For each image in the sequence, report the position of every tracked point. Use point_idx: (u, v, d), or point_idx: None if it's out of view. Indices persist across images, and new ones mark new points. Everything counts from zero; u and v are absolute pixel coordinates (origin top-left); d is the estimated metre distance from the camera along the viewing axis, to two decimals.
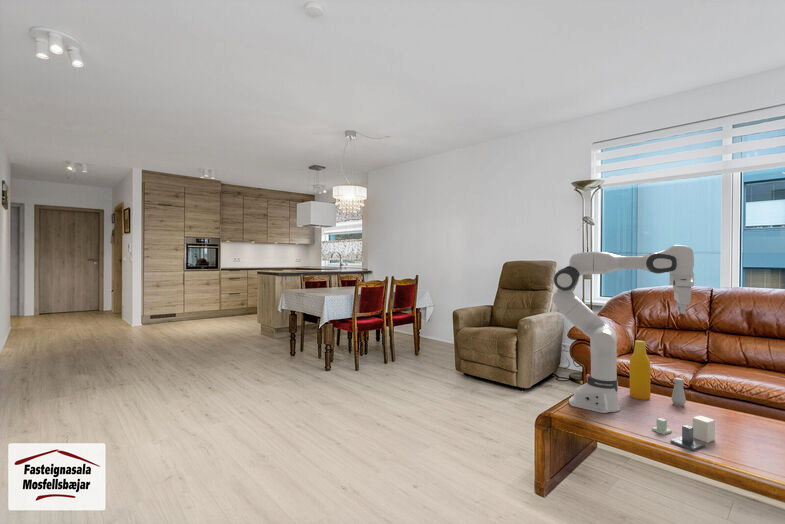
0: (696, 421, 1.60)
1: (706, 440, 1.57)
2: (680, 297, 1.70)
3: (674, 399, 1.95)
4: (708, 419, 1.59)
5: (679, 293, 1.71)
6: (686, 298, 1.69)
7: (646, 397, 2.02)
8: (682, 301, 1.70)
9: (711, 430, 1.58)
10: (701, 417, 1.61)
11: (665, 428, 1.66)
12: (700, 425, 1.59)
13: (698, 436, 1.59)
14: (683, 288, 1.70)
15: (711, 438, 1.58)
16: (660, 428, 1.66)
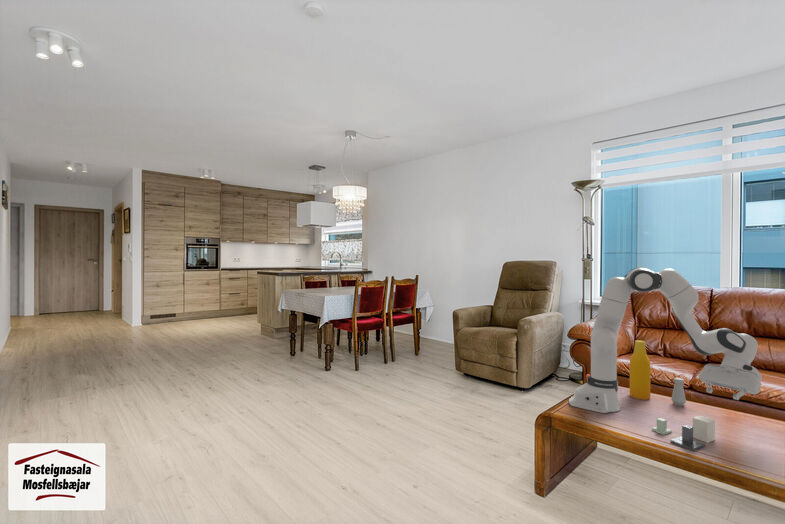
0: (696, 421, 1.60)
1: (706, 440, 1.57)
2: (756, 384, 1.57)
3: (674, 399, 1.95)
4: (708, 419, 1.59)
5: (756, 380, 1.58)
6: (758, 388, 1.58)
7: (646, 397, 2.02)
8: (756, 389, 1.57)
9: (711, 430, 1.58)
10: (701, 417, 1.61)
11: (665, 428, 1.66)
12: (700, 425, 1.59)
13: (698, 436, 1.59)
14: (757, 378, 1.60)
15: (711, 438, 1.58)
16: (660, 428, 1.66)
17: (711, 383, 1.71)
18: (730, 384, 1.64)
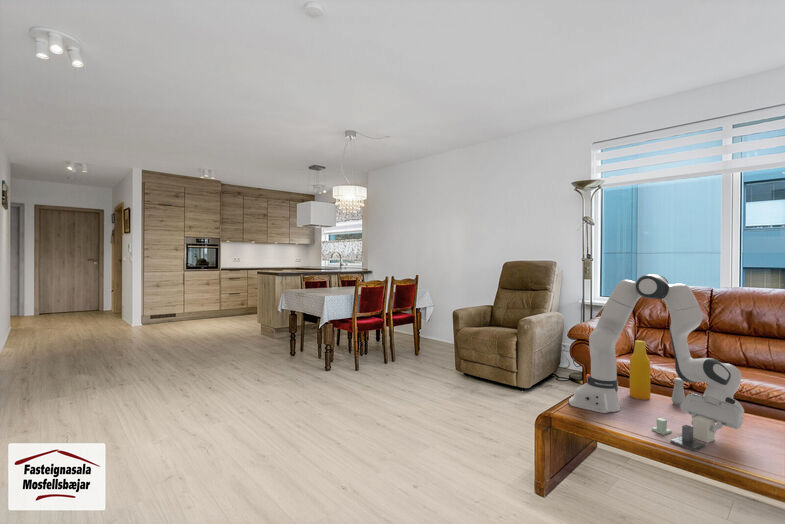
0: (696, 421, 1.60)
1: (706, 440, 1.57)
2: (738, 419, 1.52)
3: (674, 399, 1.95)
4: (708, 419, 1.59)
5: (739, 415, 1.53)
6: (740, 423, 1.53)
7: (646, 397, 2.02)
8: (738, 424, 1.52)
9: None
10: (701, 417, 1.61)
11: (665, 428, 1.66)
12: (700, 425, 1.59)
13: (698, 436, 1.59)
14: (740, 412, 1.55)
15: (711, 438, 1.58)
16: (660, 428, 1.66)
17: (696, 415, 1.64)
18: (712, 417, 1.59)
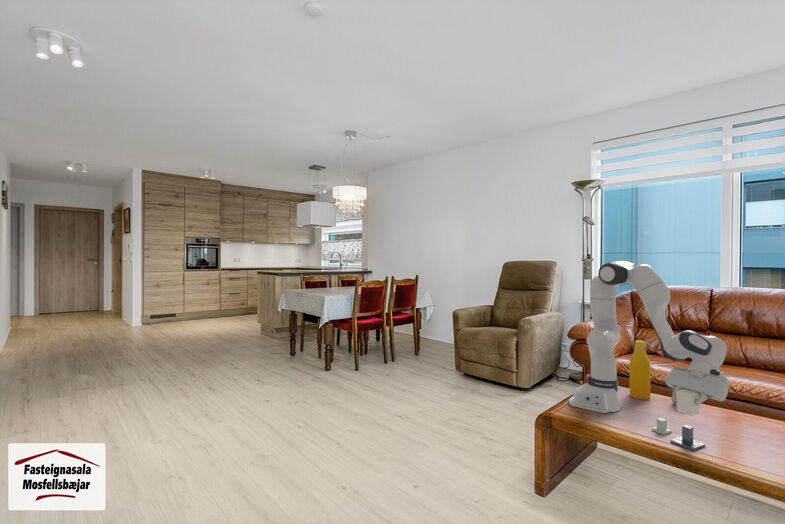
0: (680, 394, 1.55)
1: (690, 413, 1.52)
2: (723, 391, 1.47)
3: (674, 399, 1.95)
4: (692, 392, 1.54)
5: (723, 386, 1.48)
6: (725, 395, 1.48)
7: (646, 397, 2.02)
8: (722, 396, 1.47)
9: None
10: (685, 390, 1.56)
11: (665, 428, 1.66)
12: (684, 398, 1.54)
13: (682, 410, 1.54)
14: (725, 383, 1.50)
15: (695, 411, 1.53)
16: (660, 428, 1.66)
17: (681, 389, 1.59)
18: (696, 390, 1.54)
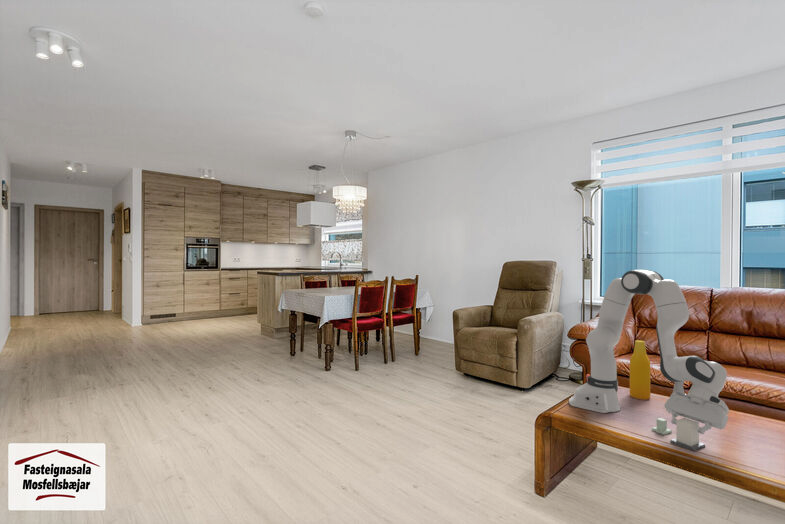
0: (680, 424, 1.55)
1: (690, 443, 1.52)
2: (722, 419, 1.48)
3: None
4: (692, 422, 1.54)
5: (723, 414, 1.48)
6: (724, 423, 1.48)
7: (646, 397, 2.02)
8: (722, 424, 1.47)
9: (695, 433, 1.53)
10: (685, 420, 1.56)
11: (665, 428, 1.66)
12: (684, 427, 1.54)
13: (681, 439, 1.55)
14: (724, 411, 1.50)
15: (695, 441, 1.53)
16: (660, 428, 1.66)
17: (677, 414, 1.61)
18: (696, 416, 1.54)
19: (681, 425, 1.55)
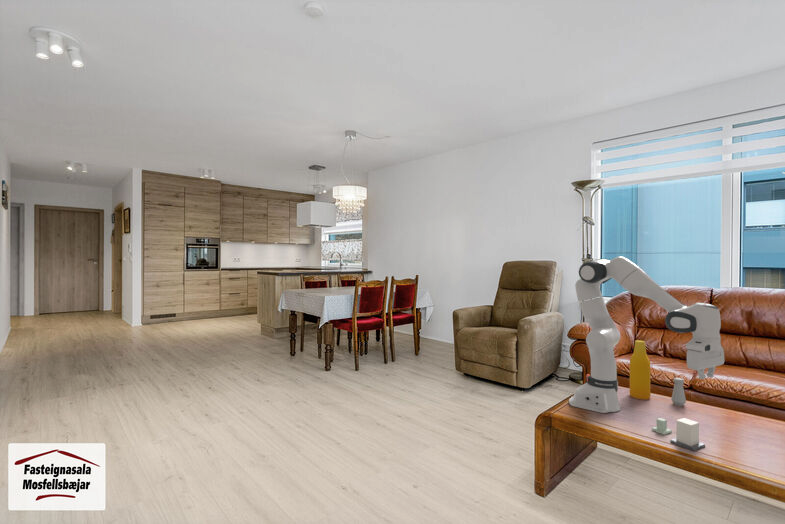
0: (680, 424, 1.55)
1: (690, 443, 1.52)
2: (687, 361, 1.58)
3: (674, 399, 1.95)
4: (692, 422, 1.54)
5: (687, 357, 1.58)
6: (693, 363, 1.56)
7: (646, 397, 2.02)
8: (689, 366, 1.57)
9: (695, 433, 1.53)
10: (685, 420, 1.56)
11: (665, 428, 1.66)
12: (684, 427, 1.54)
13: (681, 439, 1.55)
14: (692, 352, 1.57)
15: (695, 441, 1.53)
16: (660, 428, 1.66)
17: None
18: None
19: (681, 425, 1.55)
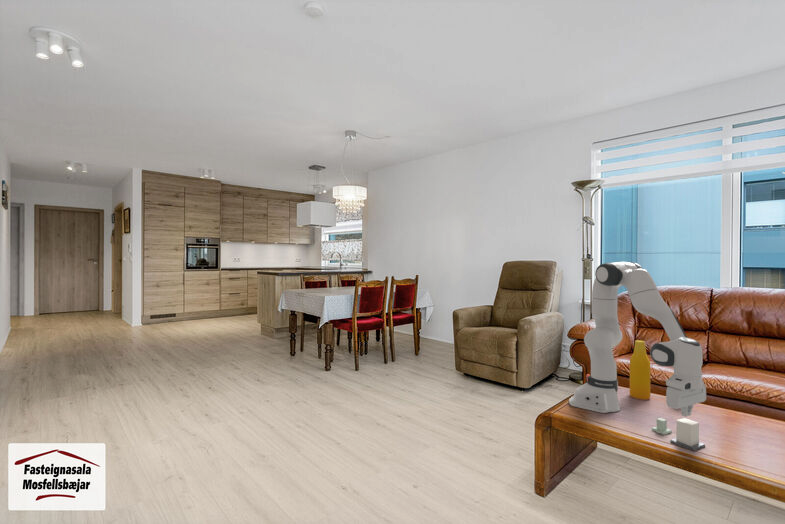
0: (680, 424, 1.55)
1: (690, 443, 1.52)
2: (667, 399, 1.52)
3: None
4: (692, 422, 1.54)
5: (667, 394, 1.53)
6: (673, 402, 1.50)
7: (646, 397, 2.02)
8: (669, 404, 1.52)
9: (695, 433, 1.53)
10: (685, 420, 1.56)
11: (665, 428, 1.66)
12: (684, 427, 1.54)
13: (681, 439, 1.55)
14: (672, 389, 1.51)
15: (695, 441, 1.53)
16: (660, 428, 1.66)
17: None
18: None
19: (681, 425, 1.55)
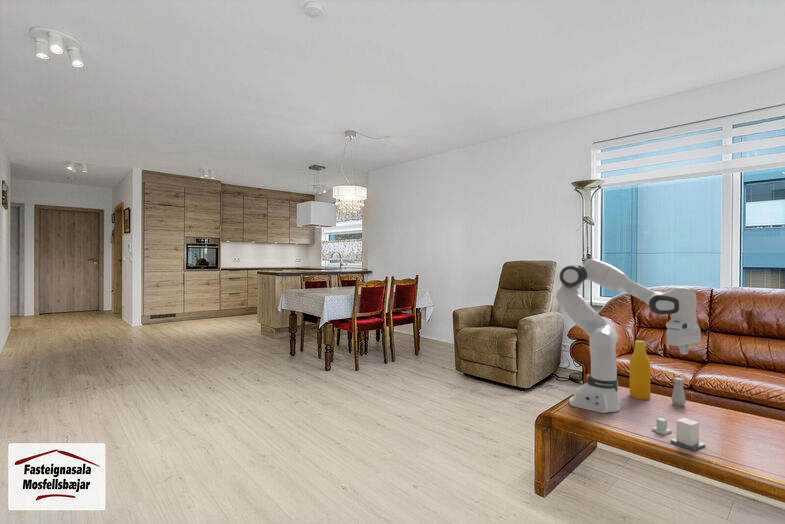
0: (680, 424, 1.55)
1: (690, 443, 1.52)
2: (667, 338, 1.76)
3: (674, 399, 1.95)
4: (692, 422, 1.54)
5: (667, 334, 1.77)
6: (672, 340, 1.75)
7: (646, 397, 2.02)
8: (669, 343, 1.76)
9: (695, 433, 1.53)
10: (685, 420, 1.56)
11: (665, 428, 1.66)
12: (684, 427, 1.54)
13: (681, 439, 1.55)
14: (671, 330, 1.76)
15: (695, 441, 1.53)
16: (660, 428, 1.66)
17: (685, 343, 1.80)
18: None
19: (681, 425, 1.55)
